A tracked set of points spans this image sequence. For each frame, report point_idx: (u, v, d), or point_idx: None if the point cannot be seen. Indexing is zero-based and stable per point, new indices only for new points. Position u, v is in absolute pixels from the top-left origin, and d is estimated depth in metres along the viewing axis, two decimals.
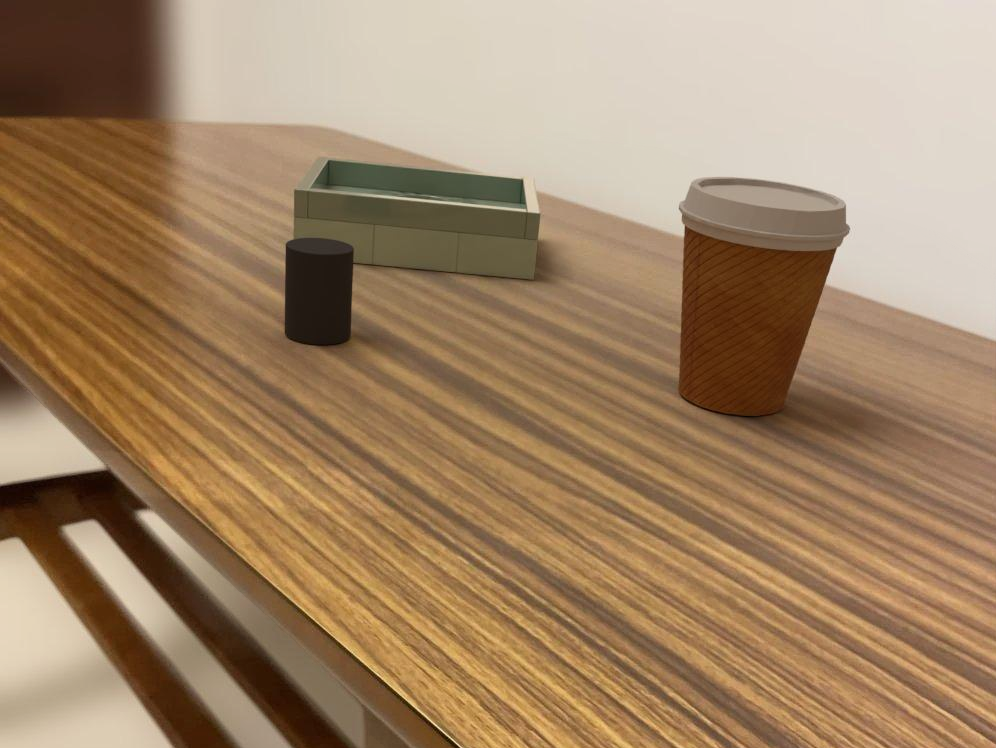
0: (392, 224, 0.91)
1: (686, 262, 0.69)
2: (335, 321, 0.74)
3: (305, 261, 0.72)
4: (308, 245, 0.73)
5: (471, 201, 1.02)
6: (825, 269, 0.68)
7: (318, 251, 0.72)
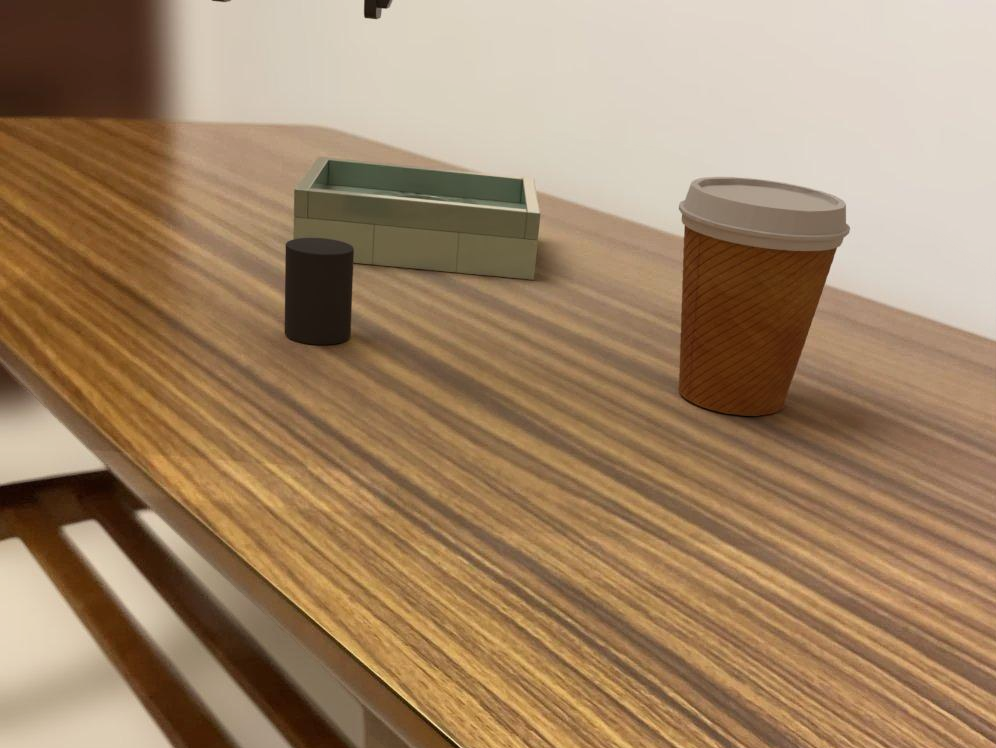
0: (392, 224, 0.91)
1: (686, 262, 0.69)
2: (335, 321, 0.74)
3: (305, 261, 0.72)
4: (308, 245, 0.73)
5: (471, 201, 1.02)
6: (825, 269, 0.68)
7: (318, 251, 0.72)
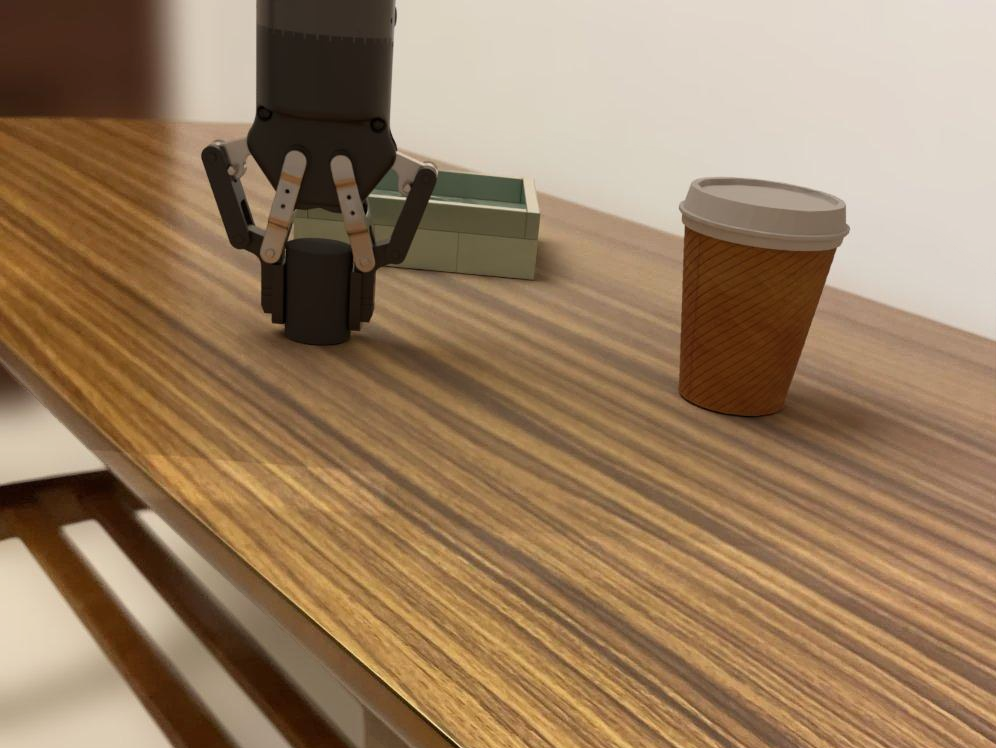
0: (392, 224, 0.91)
1: (686, 262, 0.69)
2: (335, 321, 0.74)
3: (305, 261, 0.72)
4: (308, 245, 0.73)
5: (471, 201, 1.02)
6: (825, 269, 0.68)
7: (318, 251, 0.72)
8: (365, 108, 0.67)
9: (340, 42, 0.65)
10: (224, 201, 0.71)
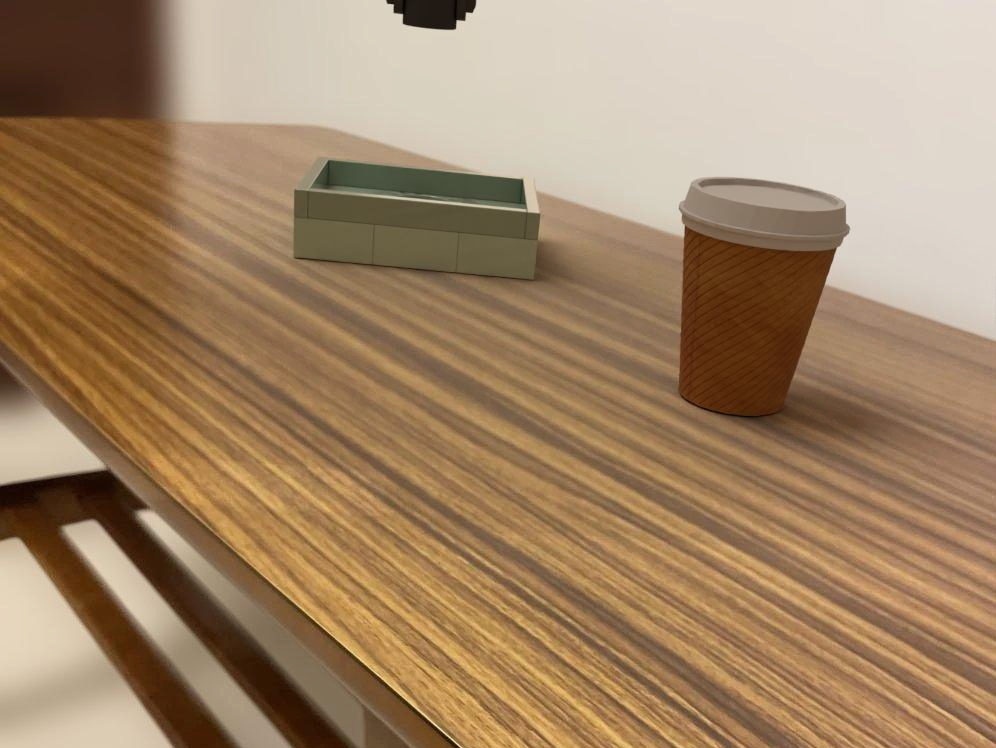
0: (392, 224, 0.91)
1: (686, 262, 0.69)
2: (445, 8, 0.90)
3: None
4: None
5: (471, 201, 1.02)
6: (825, 269, 0.68)
7: None
8: None
9: None
10: None
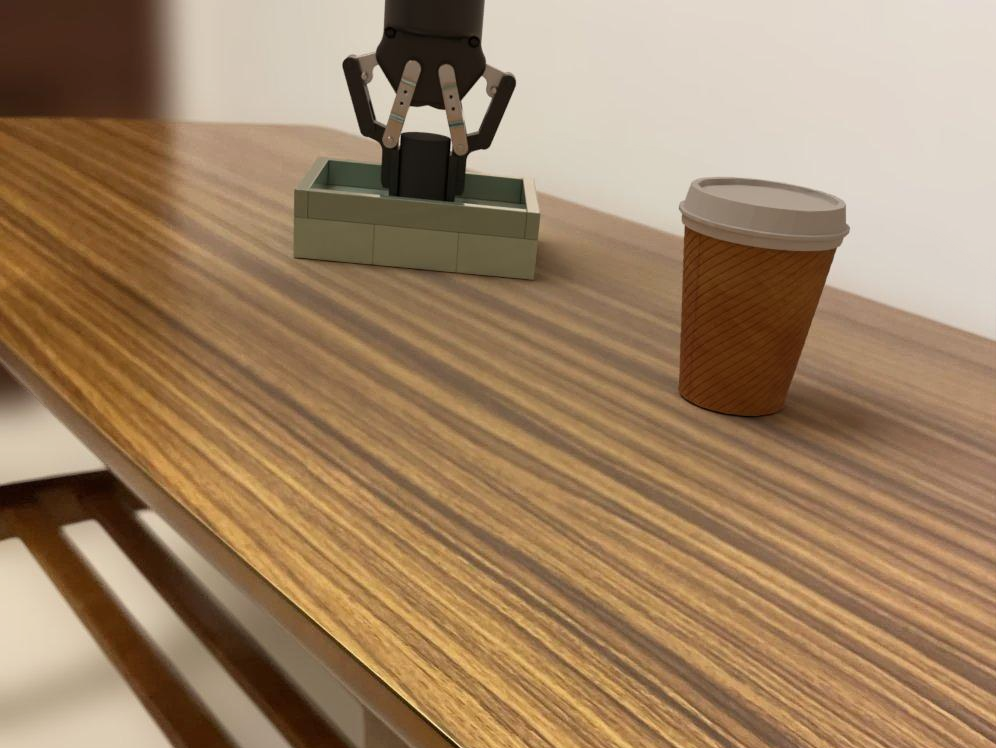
0: (392, 224, 0.91)
1: (686, 262, 0.69)
2: (436, 193, 0.98)
3: (416, 145, 0.96)
4: (417, 135, 0.97)
5: (471, 201, 1.02)
6: (825, 269, 0.68)
7: (426, 139, 0.96)
8: (466, 28, 0.92)
9: None
10: (358, 100, 0.95)
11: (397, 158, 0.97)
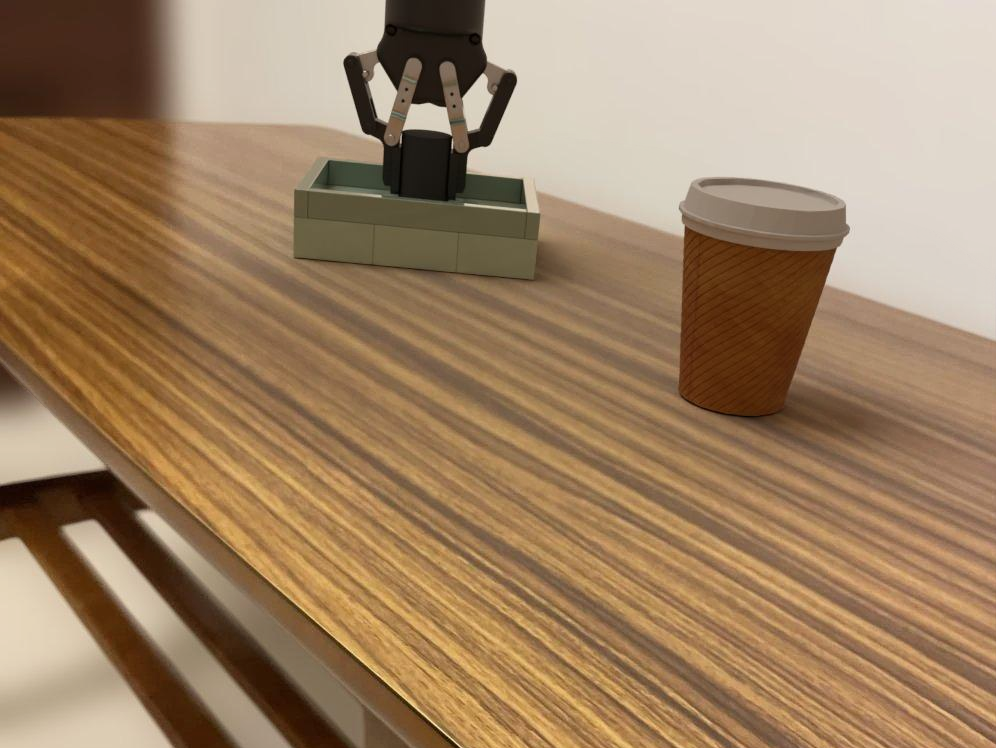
0: (392, 224, 0.91)
1: (686, 262, 0.69)
2: (438, 191, 0.98)
3: (417, 143, 0.96)
4: (418, 133, 0.97)
5: (471, 201, 1.02)
6: (825, 269, 0.68)
7: (427, 136, 0.96)
8: (467, 25, 0.92)
9: None
10: (359, 98, 0.95)
11: (399, 156, 0.97)
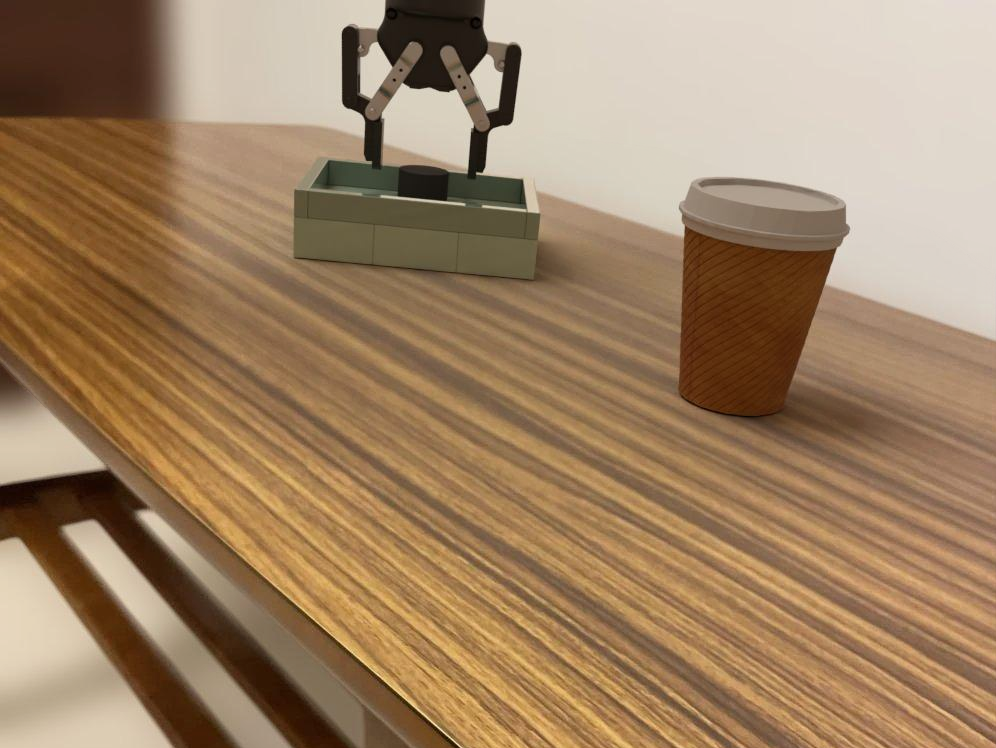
0: (392, 224, 0.91)
1: (686, 262, 0.69)
2: None
3: (414, 179, 0.97)
4: (415, 169, 0.99)
5: (471, 201, 1.02)
6: (825, 269, 0.68)
7: (424, 173, 0.98)
8: (468, 8, 0.91)
9: None
10: (348, 70, 0.94)
11: (380, 130, 0.96)
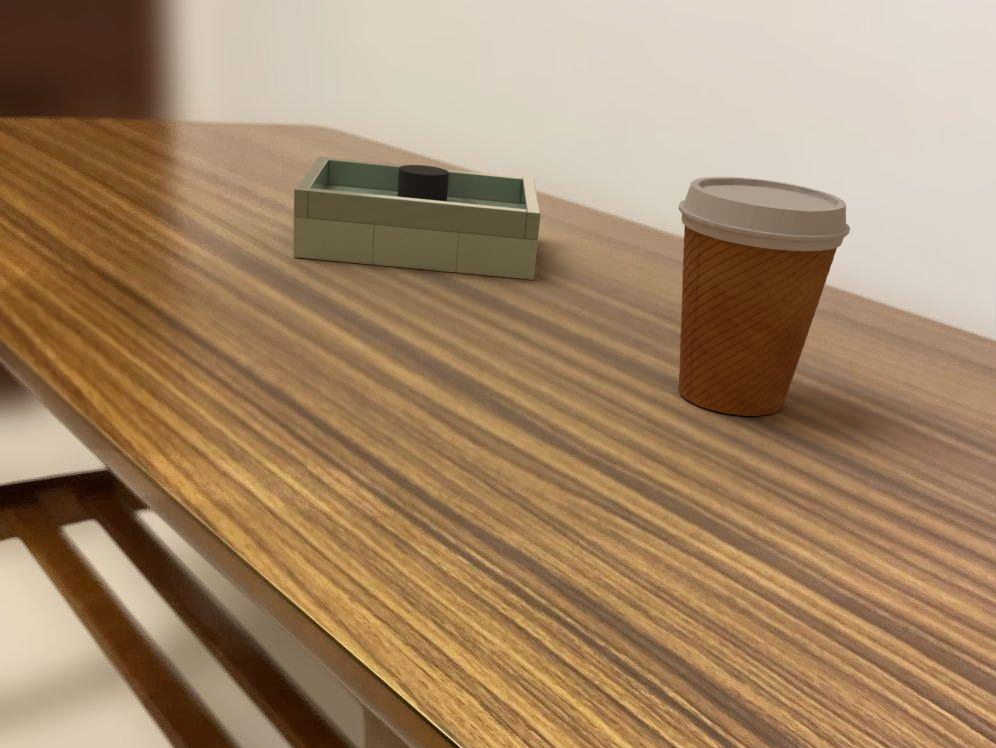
0: (392, 224, 0.91)
1: (686, 262, 0.69)
2: None
3: (414, 179, 0.97)
4: (415, 169, 0.99)
5: (471, 201, 1.02)
6: (825, 269, 0.68)
7: (424, 173, 0.98)
8: None
9: None
10: None
11: None
